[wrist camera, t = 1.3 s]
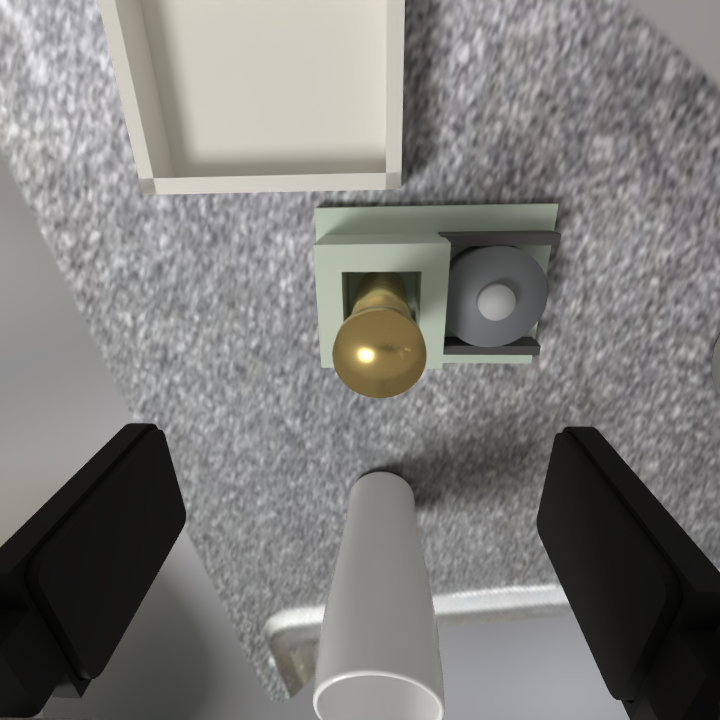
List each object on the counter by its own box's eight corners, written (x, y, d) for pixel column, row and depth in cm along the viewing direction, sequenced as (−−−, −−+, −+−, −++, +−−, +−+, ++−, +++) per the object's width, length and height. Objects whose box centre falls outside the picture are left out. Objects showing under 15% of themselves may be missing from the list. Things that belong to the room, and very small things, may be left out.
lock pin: (413, 260, 24) (429, 311, 15) (411, 319, 26) (424, 398, 17) (351, 261, 25) (329, 312, 15) (353, 319, 26) (334, 397, 17)
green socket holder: (553, 203, 23) (591, 209, 19) (526, 358, 27) (553, 392, 23) (316, 207, 24) (301, 214, 20) (326, 357, 28) (314, 389, 24)
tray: (404, -65, 19) (407, -106, 16) (399, 187, 23) (401, 189, 21) (121, -48, 20) (78, -84, 17) (170, 192, 24) (142, 194, 22)
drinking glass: (382, 446, 31) (378, 653, 18) (439, 495, 33) (476, 718, 19) (325, 491, 34) (283, 704, 20) (381, 534, 35) (377, 758, 22)
